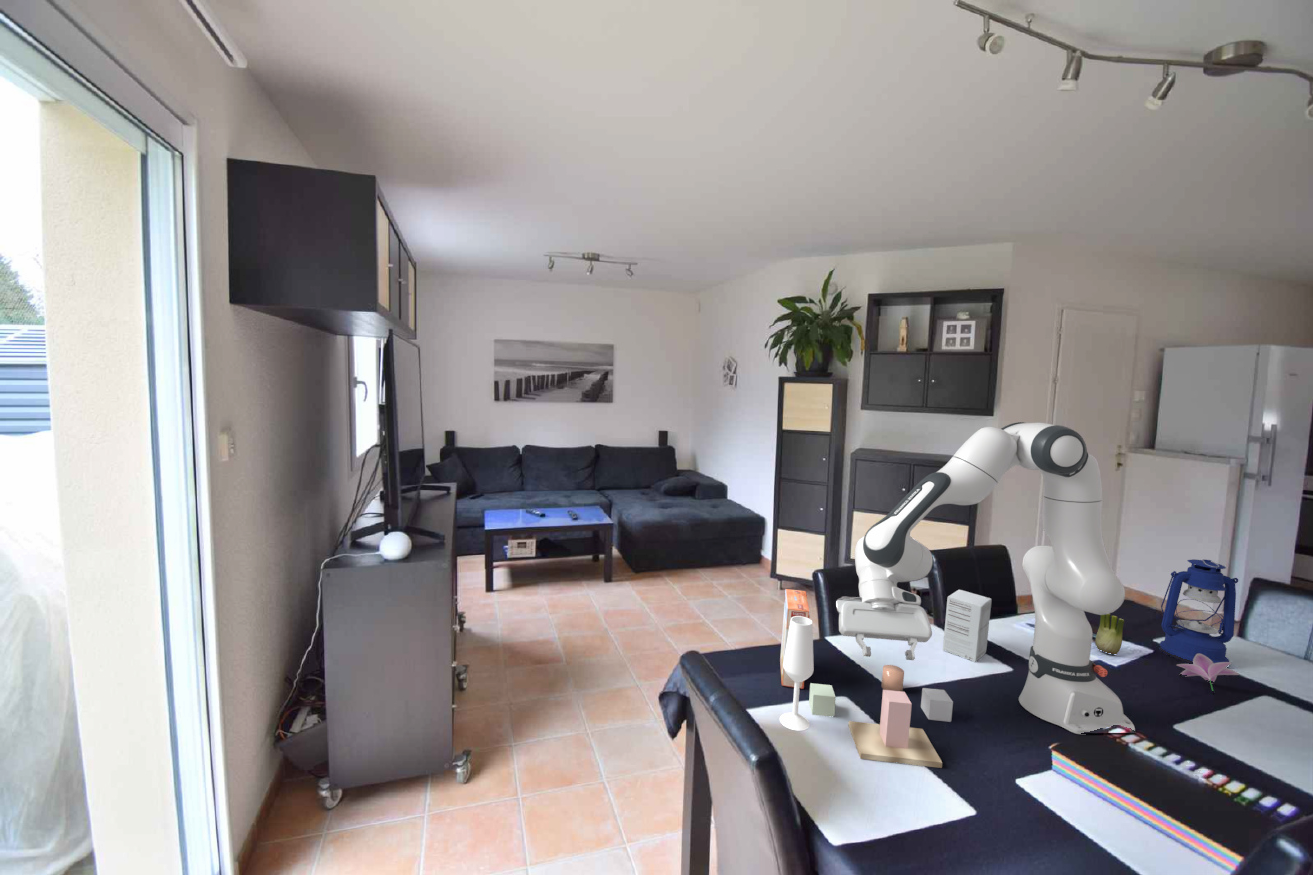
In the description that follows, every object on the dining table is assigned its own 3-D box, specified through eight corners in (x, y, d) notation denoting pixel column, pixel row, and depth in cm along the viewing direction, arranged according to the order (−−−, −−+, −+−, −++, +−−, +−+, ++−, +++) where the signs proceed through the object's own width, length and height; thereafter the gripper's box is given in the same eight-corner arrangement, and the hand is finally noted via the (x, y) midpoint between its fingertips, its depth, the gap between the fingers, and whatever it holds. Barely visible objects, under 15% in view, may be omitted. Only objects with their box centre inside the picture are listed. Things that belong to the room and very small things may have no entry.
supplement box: (953, 641, 168) (958, 588, 167) (986, 652, 162) (992, 598, 160) (941, 650, 162) (946, 595, 160) (975, 663, 155) (981, 606, 154)
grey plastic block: (942, 709, 132) (944, 690, 131) (951, 722, 127) (953, 702, 126) (920, 707, 132) (922, 687, 132) (928, 720, 127) (930, 699, 127)
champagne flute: (810, 716, 127) (817, 617, 124) (808, 733, 120) (816, 629, 118) (781, 710, 129) (787, 612, 126) (777, 726, 123) (784, 623, 120)
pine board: (922, 733, 122) (922, 728, 122) (941, 768, 111) (942, 762, 111) (848, 726, 124) (848, 721, 124) (860, 758, 113) (860, 753, 113)
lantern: (1173, 663, 160) (1187, 563, 157) (1144, 640, 174) (1156, 549, 171) (1247, 674, 155) (1263, 572, 152) (1211, 649, 169) (1225, 556, 166)
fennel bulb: (1122, 658, 162) (1127, 619, 161) (1105, 657, 162) (1110, 618, 161) (1106, 648, 168) (1111, 611, 166) (1090, 647, 168) (1095, 610, 166)
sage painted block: (830, 705, 132) (831, 685, 131) (834, 717, 127) (835, 697, 126) (808, 702, 132) (810, 683, 132) (812, 715, 128) (813, 694, 127)
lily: (1246, 699, 144) (1236, 660, 147) (1242, 695, 137) (1231, 654, 141) (1184, 694, 152) (1176, 657, 156) (1177, 690, 145) (1169, 651, 149)
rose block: (900, 735, 119) (904, 691, 118) (907, 748, 115) (911, 703, 114) (879, 732, 120) (882, 689, 119) (885, 746, 115) (889, 701, 114)
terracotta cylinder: (898, 684, 142) (900, 665, 142) (905, 694, 138) (907, 675, 137) (879, 682, 143) (880, 663, 143) (884, 692, 138) (886, 674, 138)
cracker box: (805, 690, 138) (810, 610, 136) (780, 686, 139) (785, 607, 137) (801, 663, 151) (806, 590, 149) (779, 660, 153) (784, 587, 150)
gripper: (837, 590, 131) (844, 648, 122) (927, 596, 128) (940, 656, 120) (832, 601, 135) (838, 658, 127) (918, 607, 133) (931, 666, 124)
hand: (888, 657), depth 123 cm, fingers open, 8 cm apart
